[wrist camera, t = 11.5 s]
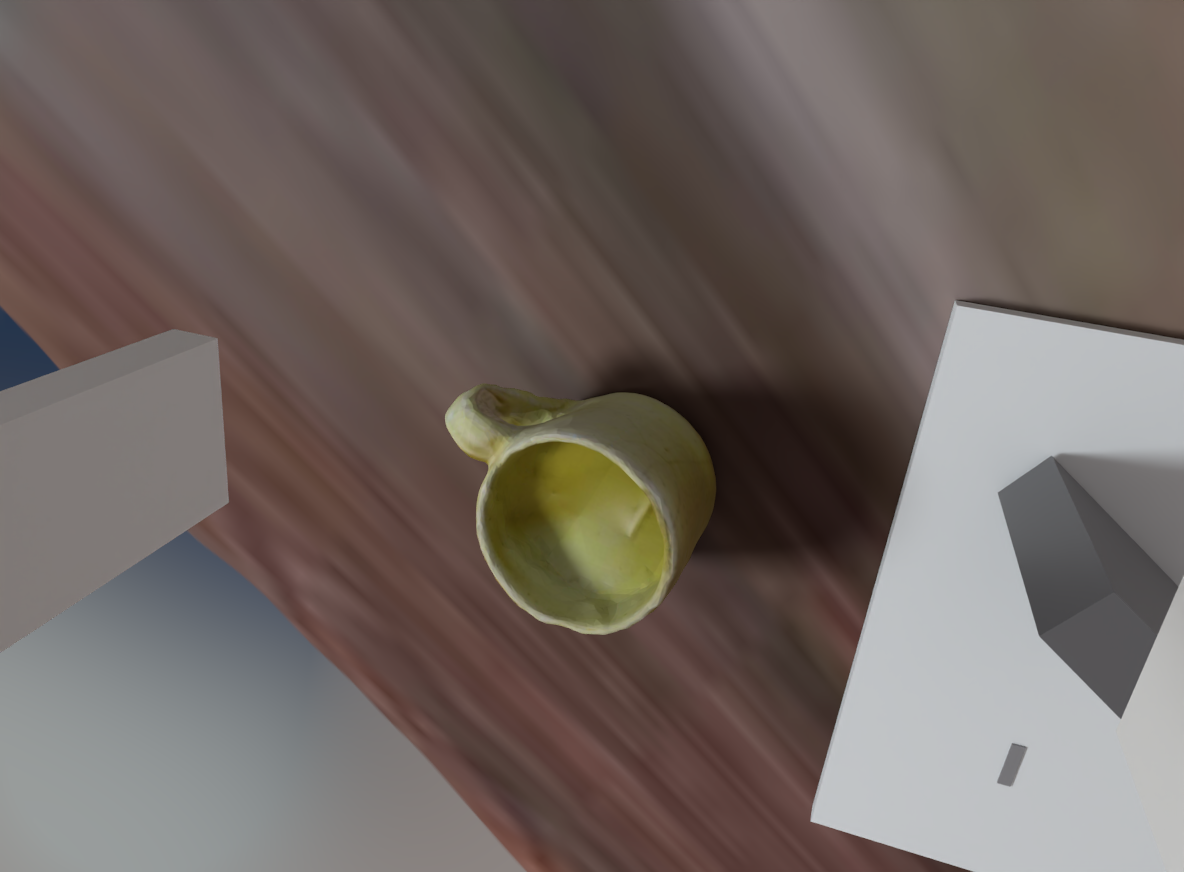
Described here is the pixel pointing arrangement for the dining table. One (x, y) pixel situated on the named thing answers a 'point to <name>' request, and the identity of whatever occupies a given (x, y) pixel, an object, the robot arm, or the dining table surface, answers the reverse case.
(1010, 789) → the board
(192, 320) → the dining table surface
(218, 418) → the robot arm
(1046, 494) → the gray bar
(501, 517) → the mug
